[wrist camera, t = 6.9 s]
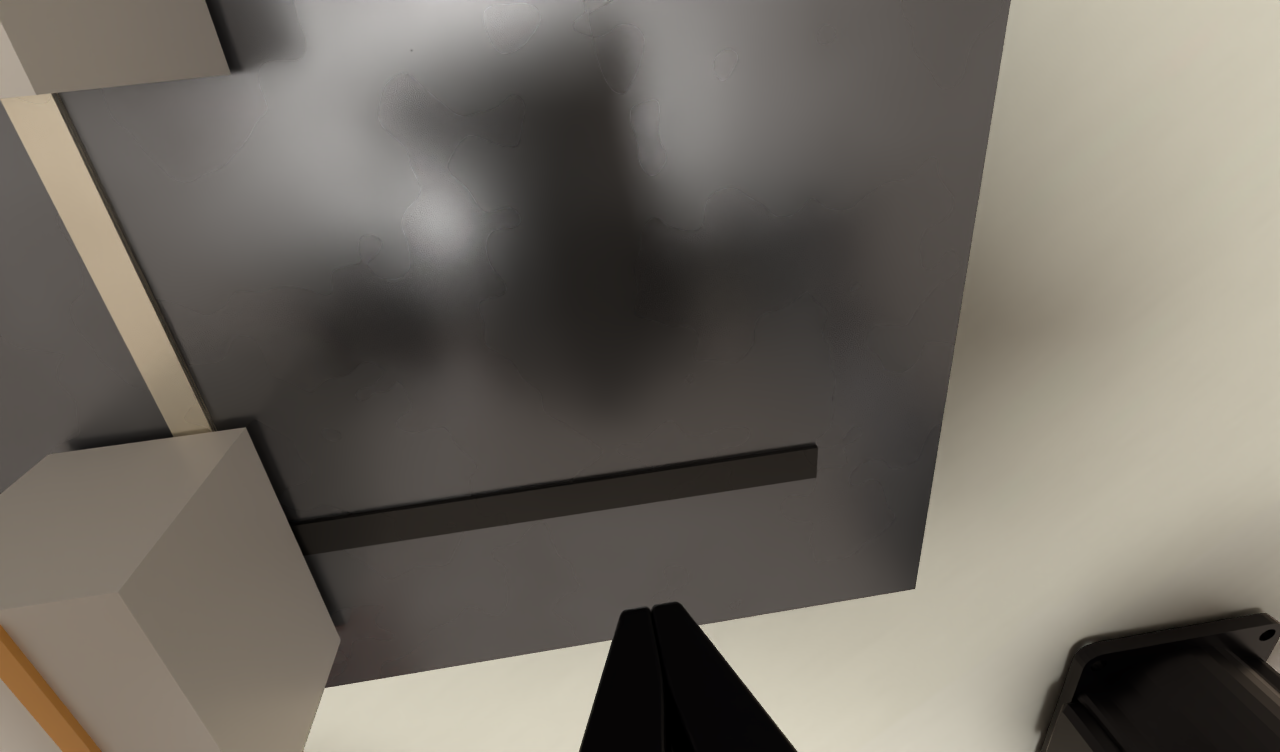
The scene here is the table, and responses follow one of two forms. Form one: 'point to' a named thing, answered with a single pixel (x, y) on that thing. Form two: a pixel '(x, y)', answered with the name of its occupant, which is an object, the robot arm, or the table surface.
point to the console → (522, 297)
